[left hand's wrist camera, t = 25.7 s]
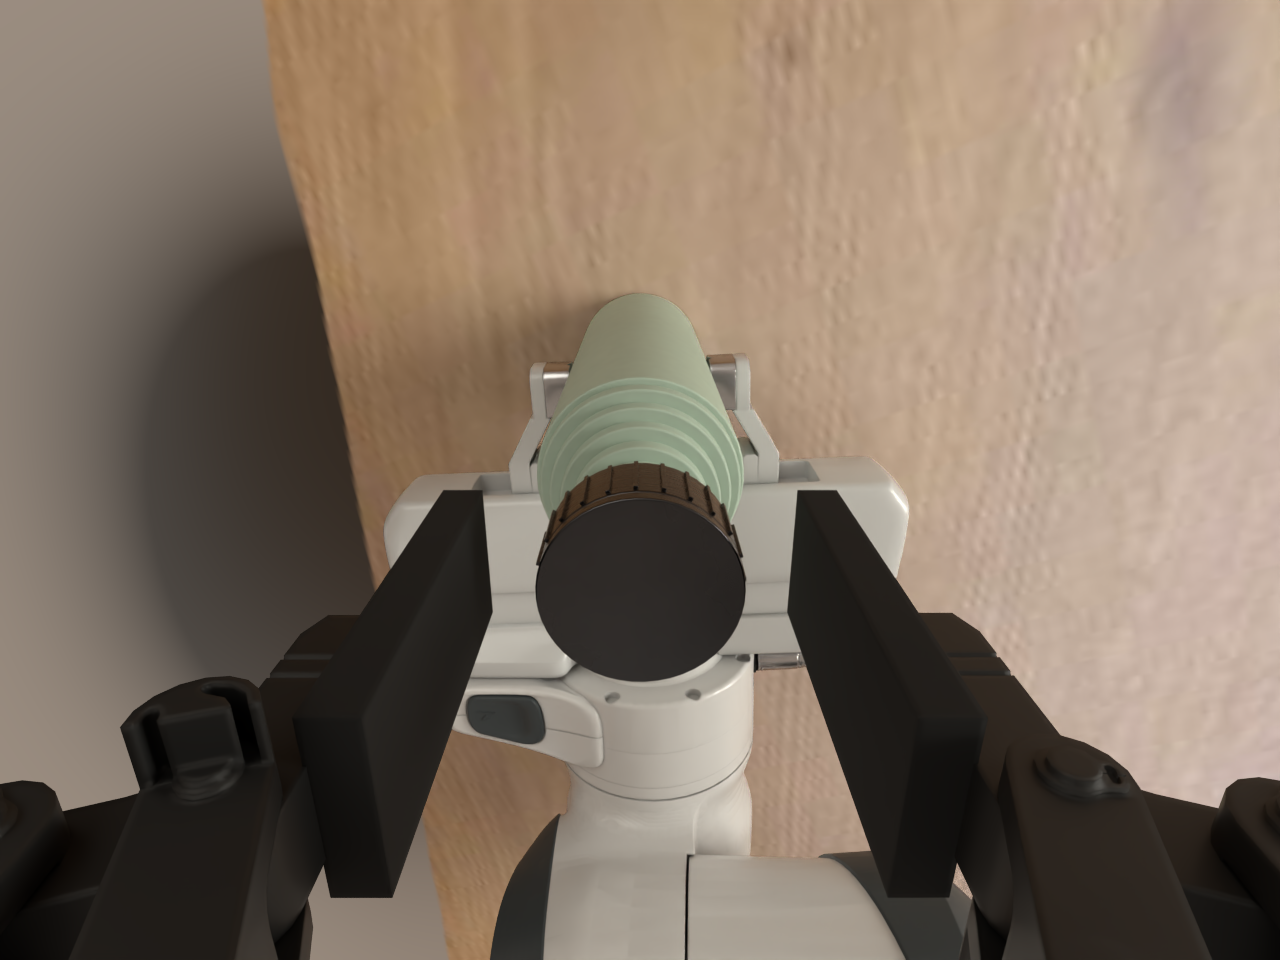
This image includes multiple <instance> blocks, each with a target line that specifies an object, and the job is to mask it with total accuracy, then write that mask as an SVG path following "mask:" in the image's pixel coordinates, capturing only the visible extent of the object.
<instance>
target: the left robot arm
mask: <svg viewBox="0 0 1280 960" xmlns="http://www.w3.org/2000/svg"><path fill="white" fill-rule="evenodd" d="M492 613H493V607H492V595H491V583H490V571H489V560H488V548H487V536H486V525H485V513H484V501H483V490H443V491H442V493H441V494H440V496H439V497H438V499H437V500H436V502H435V503H434V505H433V506H432V508H431V509H430V511H429V512H428V514H427V515H426V517H425V518H424V520H423V521H422V523H421V524H420V526H419V527H418V529H417V530H416V532H415V533H414V535H413V536H412V538H411V539H410V541H409V542H408V544H407V545H406V547H405V548H404V550H403V551H402V553H401V554H400V556H399V557H398V559H397V560H396V562H395V563H394V565H393V566H392V568H391V569H390V571H389V572H388V574H387V575H386V577H385V578H384V580H383V581H382V583H381V584H380V586H379V587H378V589H377V590H376V592H375V593H374V595H373V596H372V598H371V599H370V601H369V602H368V604H367V605H366V607H365V608H364V610H363V611H362V613H361V614H360V615H328V616H327V617H325V618H324V619H322V620H321V621H319V622H318V623H316V624H315V625H313V626H312V627H310V628H309V629H307V630H306V631H304V632H303V633H301V634H300V636H299V637H298V638H297V640H296V641H295V642H294V643H293V645H292V646H291V647H290V649H289V650H288V651H287V652H286V654H285V655H284V660H280V662H279V663H278V664H277V665H276V667H275V668H274V669H273V671H272V672H271V673H270V678H267V679H266V680H265V681H264V682H263V683H262V685H261V686H260V687H259V688H257V687H256V686H255V685H254V684H253V683H251V682H250V681H249V680H246V679H241V678H236V677H231V676H225V677H210V678H203V679H199V680H195V681H192V682H188V683H184V684H180V685H178V686H176V687H173V688H171V689H169V690H167V691H165V692H162V693H160V694H158V695H156V696H154V697H152V698H151V699H150V700H148V701H147V702H145V703H144V704H143V705H141V706H140V707H138V708H137V709H135V710H134V711H133V712H132V713H131V715H130V716H129V717H128V718H127V720H126V721H125V722H124V723H123V724H122V726H121V727H120V728H121V732H122V735H123V738H124V741H125V744H126V747H127V750H128V753H129V756H130V759H131V762H132V765H133V769H134V772H135V775H136V778H137V781H138V784H139V787H140V791H139V793H138V794H134V795H131V796H128V797H124V798H120V799H115V800H111V801H106V802H102V803H97V804H93V805H89V806H85V807H80V808H76V809H71V810H67V811H62V809H61V806H60V803H59V801H58V798H57V795H56V793H55V791H54V790H52V789H51V788H50V787H48V786H47V785H46V784H44V783H42V782H33V781H23V780H22V781H16V782H10V783H4V784H0V960H310V951H311V941H312V932H313V924H312V917H311V911H310V906H309V902H308V896H309V894H310V892H311V890H312V888H313V886H314V884H315V882H316V880H317V877H318V875H319V873H320V871H321V869H322V867H323V865H324V869H325V874H326V879H327V883H328V888H329V892H330V897H331V898H392V897H393V894H394V892H395V889H396V886H397V883H398V880H399V877H400V875H401V872H402V869H403V866H404V863H405V860H406V857H407V855H408V852H409V849H410V846H411V843H412V840H413V838H414V835H415V832H416V829H417V826H418V823H419V821H420V818H421V815H422V812H423V809H424V806H425V804H426V801H427V798H428V795H429V792H430V789H431V787H432V784H433V781H434V778H435V775H436V772H437V770H438V767H439V764H440V761H441V758H442V755H443V752H444V750H445V747H446V744H447V741H448V738H449V735H450V733H451V730H452V727H453V724H454V721H455V718H456V716H457V713H458V710H459V707H460V704H461V701H462V699H463V696H464V693H465V690H466V687H467V684H468V681H469V679H470V676H471V673H472V670H473V667H474V664H475V662H476V659H477V656H478V653H479V650H480V647H481V645H482V642H483V639H484V636H485V633H486V630H487V628H488V625H489V622H490V619H491V616H492ZM787 613H788V616H789V619H790V622H791V625H792V628H793V630H794V633H795V636H796V639H797V642H798V645H799V647H800V650H801V653H802V656H803V659H804V662H805V664H806V667H807V670H808V673H809V676H810V679H811V681H812V684H813V687H814V690H815V693H816V696H817V699H818V701H819V704H820V707H821V710H822V713H823V716H824V718H825V721H826V724H827V727H828V730H829V733H830V735H831V738H832V741H833V744H834V747H835V750H836V752H837V755H838V758H839V761H840V764H841V767H842V770H843V772H844V775H845V778H846V781H847V784H848V787H849V789H850V792H851V795H852V798H853V801H854V804H855V806H856V809H857V812H858V815H859V818H860V821H861V823H862V826H863V829H864V832H865V835H866V838H867V841H868V843H869V846H870V849H871V852H872V855H873V858H874V860H875V863H876V866H877V869H878V872H879V875H880V877H881V880H882V883H883V886H884V889H885V892H886V894H887V897H888V898H949V897H950V892H951V888H952V883H953V878H954V874H955V869H956V865H957V863H958V865H959V867H960V870H961V872H962V874H963V876H964V878H965V880H966V882H967V884H968V886H969V888H970V891H971V893H972V895H973V897H972V902H971V906H970V910H969V915H968V919H967V923H966V928H965V932H964V936H963V941H962V945H961V949H960V953H959V960H970V959H971V960H1280V781H1278V780H1272V779H1266V778H1260V777H1257V778H1247V779H1238V780H1237V781H1235V782H1234V783H1233V784H1231V785H1230V786H1229V787H1227V788H1226V790H1225V793H1224V795H1223V798H1222V801H1221V803H1220V806H1219V808H1214V807H1210V806H1205V805H1201V804H1197V803H1192V802H1188V801H1183V800H1179V799H1174V798H1170V797H1166V796H1161V795H1157V794H1153V793H1150V792H1146V791H1143V790H1141V789H1140V788H1139V786H1138V785H1137V783H1136V782H1135V780H1134V779H1133V777H1132V776H1131V775H1130V773H1129V772H1128V770H1126V769H1125V768H1124V767H1123V766H1121V765H1120V764H1119V763H1118V762H1116V761H1115V760H1114V759H1113V758H1111V757H1110V756H1109V755H1108V754H1106V753H1104V752H1102V751H1100V750H1098V749H1096V748H1094V747H1092V746H1090V745H1088V744H1086V743H1084V742H1081V741H1078V740H1074V739H1071V738H1067V737H1064V736H1061V735H1060V734H1059V733H1058V732H1057V730H1056V729H1055V728H1054V727H1053V725H1052V724H1051V723H1050V721H1049V720H1048V719H1047V717H1046V716H1045V715H1044V714H1043V712H1042V711H1041V710H1040V708H1039V707H1038V706H1037V705H1036V703H1035V702H1034V701H1033V699H1032V698H1031V697H1030V696H1029V694H1028V693H1027V692H1026V690H1025V689H1024V688H1023V687H1022V685H1021V684H1020V683H1019V681H1018V680H1017V679H1016V678H1015V676H1011V674H1010V670H1009V669H1008V667H1007V666H1006V665H1005V663H1004V662H1003V661H1002V660H1001V658H1000V657H997V656H996V652H995V651H994V649H993V648H992V647H991V645H990V644H989V643H988V642H987V640H986V639H985V638H984V636H983V635H982V634H981V633H980V631H978V630H977V629H975V628H974V627H972V626H971V625H969V624H968V623H966V622H965V621H963V620H962V619H960V618H959V617H957V616H956V615H954V614H953V613H918V611H917V610H916V608H915V607H914V605H913V604H912V602H911V601H910V599H909V598H908V596H907V595H906V593H905V592H904V590H903V589H902V587H901V586H900V584H899V583H898V581H897V580H896V578H895V577H894V575H893V574H892V572H891V571H890V569H889V568H888V566H887V565H886V563H885V562H884V560H883V559H882V557H881V556H880V554H879V553H878V551H877V550H876V548H875V547H874V545H873V544H872V542H871V541H870V539H869V538H868V536H867V535H866V533H865V532H864V530H863V529H862V527H861V526H860V524H859V523H858V521H857V520H856V518H855V517H854V515H853V514H852V512H851V511H850V509H849V508H848V506H847V505H846V503H845V502H844V500H843V499H842V497H841V496H840V494H839V493H838V491H837V490H797V501H796V513H795V525H794V536H793V548H792V560H791V571H790V583H789V595H788V606H787Z"/></svg>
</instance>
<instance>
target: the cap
mask: <svg viewBox="0 0 1280 960" xmlns="http://www.w3.org/2000/svg"><path fill="white" fill-rule="evenodd" d="M741 558H743V554H742V550H741V547H740V543H739V540H738V536H737V533H736V529H735V526H734V524H732V525H731V523H730V520H729V516H728V513H727V509H726V506H725V504H724V503H722V504H721V503H720V502H719V500H718V499H717V498H716V496H715V495H714V494H713V493H712V492H711V489H710V487H709V486H708V485H706V486H705V485H703V484H702V483H701V482H699V481H698V480H697V479H695V478H693V477H692V476H690V474H689V472H687V471H685V472H682V471H679V470H677V469H675V468H671V467H667V466H665V464H664V463H660V465H659V464H652V463H638V461H634V463H630V464H622V465H618V466H612V465H609V466H608V468H607V469H604V470H602V471H599V472H597V473H595V474H593V475H591V476H588V475H587V476H585V477H584V480H583V481H582V482H580V483H579V484H578V485H576V486H575V487H574V488H573V489H572V490H571V491H568V490H567V492H566V493H565V496H564V499H563V500H562V501H561V503H560V505H559V506H558V508H557V510H556V511H555V510H553V511H552V513H551V517H550V520H549V524H548V527H547V531H545V533H544V537H543V540H542V544H541V547H540V551H539V554H538V558H537V561H536V565H537V566H539V567H538V571H537V575H536V584H535V595H536V603H537V608H538V612H539V615H540V618H541V621H542V623H543V625H544V627H545V629H546V631H547V633H548V634H549V636H550V637H551V639H552V640H553V641H554V643H555V644H556V645H557V646H558V647H559V648H560V649H561V651H562V652H563V653H565V654H566V655H567V656H568V657H569V658H570V659H572V660H573V661H575V662H576V663H578V664H579V665H581V666H582V667H584V668H586V669H588V670H590V671H592V672H594V673H597V674H599V675H602V676H605V677H608V678H612V679H616V680H622V681H630V682H650V681H659V680H664V679H669V678H673V677H676V676H679V675H682V674H685V673H687V672H689V671H691V670H693V669H695V668H697V667H699V666H700V665H702V664H704V663H705V662H707V661H708V660H709V659H710V658H712V657H713V656H714V655H716V654H717V652H718V651H719V650H720V649H721V648H722V647H723V646H724V645H725V644H726V643H727V641H728V640H729V639H730V637H731V636H732V634H733V633H734V631H735V629H736V627H737V626H738V623H739V621H740V618H741V616H742V613H743V608H744V604H745V596H746V583H745V582H746V575H745V571H744V568H743V564H742V560H741Z"/></svg>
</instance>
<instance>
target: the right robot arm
mask: <svg viewBox="0 0 1280 960" xmlns="http://www.w3.org/2000/svg"><path fill="white" fill-rule="evenodd" d="M706 362H707V364H708V367H709V369H710V372H711V374H712V377H713V379H714V382H715V384H716V387H717V389H718V392H719V395H720V397H721V400H722V402H723V405H724V407H725V410H732V411H733V413H734V414H735V416H736V418H737V419H738V421H739V423H740V424H741V426H742V428H743V429H744V431H745V432H746V434H747V436H748V437H749V438H748V437H741V438H738V439H737V440H738V442H739V446H740V449H741V453H742V457H743V465H744V483H743V489H742V494H741V498H740V501H739V504H738V507H737V509H736V511H735V514H734V516H733V518H732V520H731V525H732V524H734V526H735V529H736V533H737V536H738V540H739V543H740V547H741V550H742V554H743V558H741V560H742V564H743V568H744V571H745V575H746V582H745V583H746V596H745V604H744V608H743V613H742V616H741V618H740V621H739V623H738V626H737V627H736V629H735V631H734V633H733V634H732V636H731V637H730V639H729V640H728V641H727V643H726V644H725V645H724V646H723V647H722V648H721V649H720V650H719V651H718V652H717V654H716V655H714V656H713V657H712V658H710V659H709V660H708V661H707V662H705V663H704V664H702V665H700V666H699V667H697V668H695V669H693V670H691V671H689V672H687V673H685V674H682V675H679V676H676V677H673V678H669V679H664V680H659V681H650V682H630V681H622V680H616V679H612V678H608V677H605V676H602V675H599V674H597V673H594V672H592V671H590V670H588V669H586V668H584V667H582V666H581V665H579V664H578V663H576V662H575V661H573V660H572V659H570V658H569V657H568V656H567V655H566V654H565V653H563V652H562V651H561V649H560V648H559V647H558V646H557V645H556V644H555V643H554V641H553V640H552V639H551V637H550V636H549V634H548V633H547V631H546V629H545V627H544V625H543V623H542V621H541V618H540V615H539V612H538V608H537V603H536V595H535V584H536V575H537V571H538V567H539V566H537V565H536V561H537V558H538V554H539V551H540V547H541V544H542V540H543V537H544V533H545V531H547V527H548V524H549V519H548V516H547V514H546V512H545V510H544V507H543V504H542V502H541V499H540V494H539V490H538V483H537V463H538V457H539V452H540V448H541V446H540V447H539V448H538V449H537V446H538V444H539V442H540V440H541V438H542V436H543V434H544V432H545V429H546V427H547V425H548V423H549V421H550V419H551V418H552V417H553V414H554V412H555V409H556V406H557V404H558V401H559V399H560V396H561V394H562V391H563V389H564V386H565V384H566V381H567V379H568V376H569V374H570V371H571V368H572V366H573V363H572V362H541V363H534V364H533V365H532V367H531V368H530V391H531V401H532V410H533V414H532V416H531V418H530V420H529V422H528V425H527V427H526V429H525V431H524V433H523V435H522V437H521V439H520V441H519V443H518V446H517V448H516V450H515V452H514V454H513V456H512V458H511V460H510V462H509V471H499V472H476V473H452V474H429V475H422V476H419V477H418V478H416V479H415V480H414V481H413V482H412V483H411V484H410V485H409V486H408V487H407V488H406V490H405V491H404V492H403V493H402V494H401V495H400V496H399V498H398V499H397V500H396V502H395V503H394V505H393V506H392V508H391V510H390V511H389V513H388V515H387V517H386V520H385V523H384V530H383V531H384V542H385V548H386V553H387V558H388V563H389V567H390V569H391V568H392V566H393V565H394V563H395V562H396V560H397V559H398V557H399V556H400V554H401V553H402V551H403V550H404V548H405V547H406V545H407V544H408V542H409V541H410V539H411V538H412V536H413V535H414V533H415V532H416V530H417V529H418V527H419V526H420V524H421V523H422V521H423V520H424V518H425V517H426V515H427V514H428V512H429V511H430V509H431V508H432V506H433V505H434V503H435V502H436V500H437V499H438V497H439V496H440V494H441V493H442V491H443V490H483V501H484V513H485V525H486V536H487V548H488V560H489V571H490V583H491V595H492V607H493V613H492V616H491V619H490V622H489V625H488V628H487V630H486V633H485V636H484V639H483V642H482V645H481V647H480V650H479V653H478V656H477V659H476V662H475V664H474V667H473V670H472V673H471V676H470V679H469V681H468V684H467V687H466V690H465V693H464V696H463V699H462V701H461V704H460V707H459V710H458V713H457V716H456V718H455V721H454V724H453V727H452V730H454V731H457V732H459V733H463V734H467V735H471V736H476V737H480V738H485V739H490V740H494V741H499V742H503V743H507V744H511V745H515V746H519V747H523V748H526V749H530V750H533V751H537V752H540V753H543V754H546V755H549V756H552V757H554V758H557V759H560V760H562V761H565V764H566V766H567V769H568V771H569V774H570V780H571V785H570V788H569V792H568V798H567V812H566V813H565V814H564V815H560V814H558V815H557V816H556V817H555V818H553V819H552V820H551V821H550V822H549V824H548V825H547V826H546V827H545V828H544V829H543V831H542V832H541V833H540V834H539V836H538V837H537V838H536V840H535V841H534V843H533V844H532V845H531V847H530V848H529V849H528V851H527V852H526V854H525V855H524V857H523V858H522V859H521V861H520V862H519V864H518V865H517V867H516V869H515V871H514V873H513V875H512V877H511V879H510V881H509V884H508V886H507V888H506V891H505V894H504V897H503V900H502V903H501V906H500V910H499V914H498V917H497V922H496V927H495V932H494V937H493V943H492V949H491V957H490V960H959V953H960V949H961V945H962V941H963V936H964V932H965V928H966V923H967V919H968V915H969V910H970V906H971V902H972V900H971V899H970V898H969V897H968V896H967V895H966V894H965V893H964V892H963V891H962V890H961V889H959V888H958V887H957V886H956V885H955V884H954V883H952V888H951V892H950V897H949V898H888V897H887V894H886V892H885V889H884V886H883V883H882V880H881V877H880V875H879V872H878V869H877V866H876V863H875V860H874V858H873V855H872V852H871V851H862V852H847V853H833V854H823V855H821V856H819V857H818V858H803V857H768V856H750V849H751V832H752V800H751V794H750V789H749V786H748V782H747V780H746V777H745V775H744V770H745V767H746V765H747V762H748V760H749V757H750V753H751V749H752V743H753V710H754V672H756V670H781V669H795V668H801V667H806V664H805V662H804V659H803V656H802V653H801V650H800V647H799V645H798V642H797V639H796V636H795V633H794V630H793V628H792V625H791V622H790V619H789V616H788V613H787V606H788V595H789V583H790V571H791V560H792V548H793V536H794V525H795V513H796V501H797V490H837V491H838V493H839V494H840V496H841V497H842V499H843V500H844V502H845V503H846V505H847V506H848V508H849V509H850V511H851V512H852V514H853V515H854V517H855V518H856V520H857V521H858V523H859V524H860V526H861V527H862V529H863V530H864V532H865V533H866V535H867V536H868V538H869V539H870V541H871V542H872V544H873V545H874V547H875V548H876V550H877V551H878V553H879V554H880V556H881V557H882V559H883V560H884V562H885V563H886V565H887V566H888V568H889V569H890V571H891V572H892V574H893V575H894V577H895V578H896V577H897V574H898V570H899V566H900V562H901V557H902V553H903V548H904V543H905V537H906V531H907V525H908V518H909V503H908V500H907V497H906V495H905V493H904V491H903V490H902V488H901V487H900V486H899V484H898V483H897V482H896V480H895V479H894V478H893V477H892V476H891V475H890V474H889V473H888V472H887V471H886V470H885V469H884V468H883V467H882V466H881V465H880V464H879V463H877V462H876V461H875V460H874V459H872V458H870V457H867V456H848V457H825V458H802V459H779V452H778V450H777V448H776V446H775V444H774V442H773V440H772V438H771V437H770V435H769V433H768V431H767V430H766V428H765V426H764V425H763V423H762V421H761V420H760V418H759V416H758V415H757V413H756V411H755V410H754V408H753V406H752V405H751V403H750V364H749V359H748V357H747V356H746V354H745V353H739V354H720V355H707V357H706ZM970 960H971V959H970Z"/></svg>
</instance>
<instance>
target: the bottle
mask: <svg viewBox="0 0 1280 960" xmlns="http://www.w3.org/2000/svg"><path fill="white" fill-rule="evenodd" d="M634 461H638V463H652V464H659V465H660V463H664V464H665V466H667V467H671V468H675V469H677V470H679V471H682V472H685V471H687V472H689V474H690V476H692V477H693V478H695V479H697V480H698V481H699V482H701V483H702V484H703V485H705V486H706V485H708V486H709V487H710V489H711V492H712V493H713V494H714V495H715V496H716V498H717V499H718V500H719V502H720V503H721V504H722V503H724V504H725V506H726V509H727V513H728V516H729V520H730V523H731V520H732V518H733V516H734V514H735V511H736V509H737V507H738V504H739V501H740V498H741V494H742V489H743V483H744V465H743V457H742V453H741V449H740V446H739V442H738V440H737V437H736V435H735V432H734V430H733V427H732V425H731V422H730V420H729V417H728V415H727V412H726V410H725V407H724V405H723V402H722V400H721V397H720V395H719V392H718V389H717V387H716V384H715V382H714V379H713V377H712V374H711V372H710V369H709V367H708V364H707V362H706V359H705V357H704V354H703V352H702V349H701V347H700V344H699V342H698V339H697V337H696V334H695V332H694V329H693V327H692V325H691V323H690V321H689V320H688V318H687V317H686V315H685V314H684V313H683V312H682V311H681V310H680V309H679V308H678V307H677V306H676V305H674V304H673V303H671V302H670V301H668V300H666V299H664V298H662V297H659V296H656V295H651V294H644V293H638V294H629V295H625V296H622V297H619V298H617V299H615V300H612V301H611V302H609V303H608V304H606V305H605V306H604V307H603V308H601V309H600V310H599V311H598V313H597V314H596V315H595V316H594V318H593V319H592V321H591V322H590V324H589V326H588V328H587V331H586V333H585V336H584V338H583V341H582V343H581V346H580V348H579V351H578V353H577V356H576V358H575V361H574V363H573V366H572V368H571V371H570V374H569V376H568V379H567V381H566V384H565V386H564V389H563V391H562V394H561V396H560V399H559V401H558V404H557V406H556V409H555V412H554V414H553V417H552V419H551V422H550V424H549V427H548V429H547V432H546V434H545V437H544V440H543V443H542V445H541V448H540V452H539V457H538V463H537V483H538V490H539V494H540V499H541V502H542V504H543V507H544V510H545V512H546V514H547V516H548V519H549V520H550V517H551V513H552V511H553V510H555V511H556V510H557V508H558V506H559V505H560V503H561V501H562V500H563V499H564V496H565V493H566V492H567V490H568V491H571V490H572V489H573V488H574V487H575V486H576V485H578V484H579V483H580V482H582V481H583V480H584V477H585V476H587V475H588V476H591V475H593V474H595V473H597V472H599V471H602V470H604V469H607V468H608V466H609V465H612V466H618V465H622V464H630V463H634Z"/></svg>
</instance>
